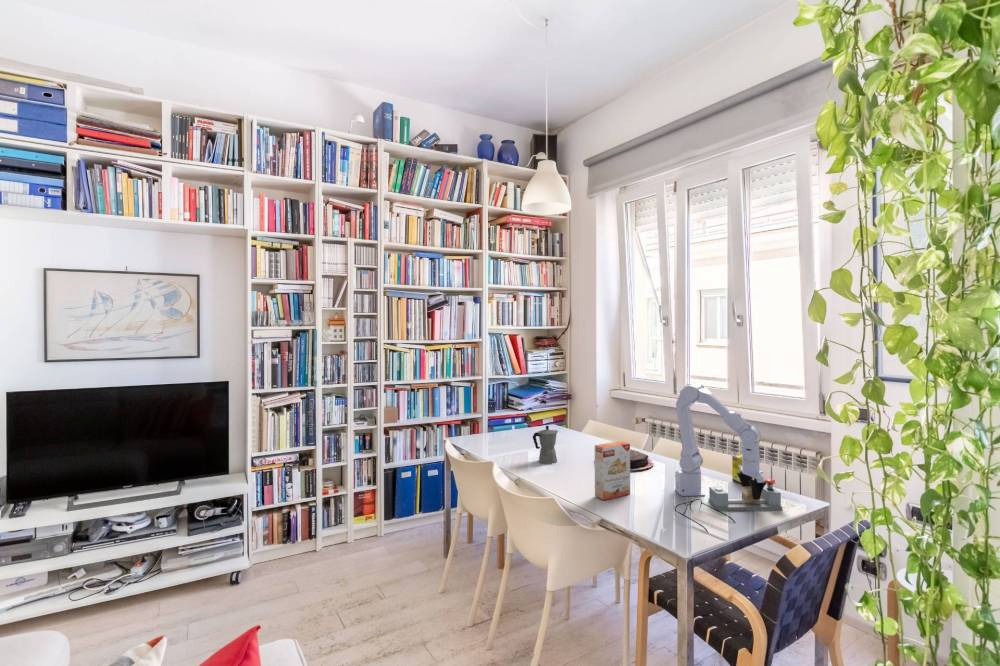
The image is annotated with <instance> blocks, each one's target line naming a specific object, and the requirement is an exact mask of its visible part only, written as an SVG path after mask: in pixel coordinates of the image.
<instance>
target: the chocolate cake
mask: <svg viewBox="0 0 1000 666" xmlns="http://www.w3.org/2000/svg"><path fill="white" fill-rule="evenodd" d="M652 467H654V461H653V460H652V459H650V458H649V455H648V454H645V453H643V452H641V451H639V450H638V451H637V450H635V449H631V448H630V471H632V472H641V470H642V471H645V470H648V469H650V468H652ZM647 468H648V469H647Z"/></svg>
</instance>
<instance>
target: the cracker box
mask: <svg viewBox="0 0 1000 666" xmlns="http://www.w3.org/2000/svg"><path fill="white" fill-rule="evenodd" d="M630 449H631V443H628V442H625V441H623V440H619V441H612V442H605V443H601V444H599V443H598V444H594V496H595V497H596V498H598V499H600V500H602V501H606V500H610V499H615V498H619V497H622V496H627V495H631V472H630Z"/></svg>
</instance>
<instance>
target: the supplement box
mask: <svg viewBox="0 0 1000 666" xmlns="http://www.w3.org/2000/svg"><path fill="white" fill-rule="evenodd" d="M731 457H732V459H731V460H732V461H731V462H732V463H731V466H732V468H731V470H732V472H731V473H732V475H731V477H732V478H731V479H732V481H733V482H735V483H737V484H740V485H741V481H740V479H739V477H738V475H737V472H741V471H740V470H739V465H742V454H738V455H732V456H731ZM752 480H754V478H752Z"/></svg>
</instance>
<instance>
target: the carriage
mask: <svg viewBox="0 0 1000 666" xmlns="http://www.w3.org/2000/svg"><path fill="white" fill-rule="evenodd" d="M741 498H742V499H745V500H746V503H747V504H761V496H760V500H754V499H753V497H752V490H751V486H748V487H742V486H741Z"/></svg>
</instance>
